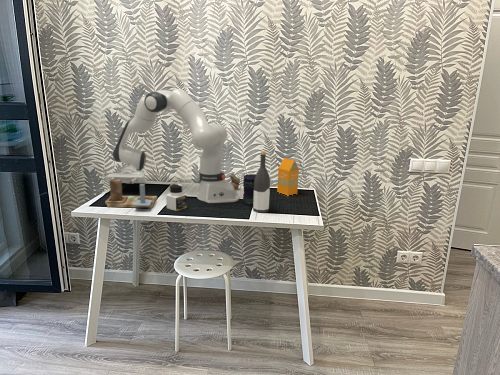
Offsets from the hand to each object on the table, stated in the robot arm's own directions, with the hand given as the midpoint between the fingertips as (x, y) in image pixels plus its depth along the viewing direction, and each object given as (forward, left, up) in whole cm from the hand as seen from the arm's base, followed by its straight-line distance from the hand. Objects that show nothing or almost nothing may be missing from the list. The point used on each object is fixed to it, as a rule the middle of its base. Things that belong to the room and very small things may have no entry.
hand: (122, 182), depth 216 cm
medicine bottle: (-31, +17, -8) cm, 36 cm away
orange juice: (-90, -10, -8) cm, 90 cm away
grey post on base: (-14, +19, -5) cm, 25 cm away
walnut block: (0, +12, -7) cm, 14 cm away
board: (-8, +10, -8) cm, 15 cm away
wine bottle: (-73, +19, -8) cm, 75 cm away
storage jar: (-69, +10, -8) cm, 70 cm away
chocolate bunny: (-59, -16, -8) cm, 61 cm away
